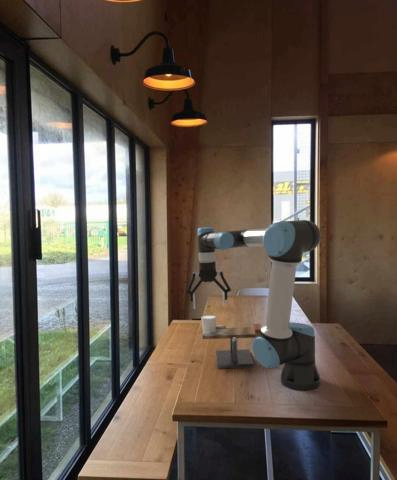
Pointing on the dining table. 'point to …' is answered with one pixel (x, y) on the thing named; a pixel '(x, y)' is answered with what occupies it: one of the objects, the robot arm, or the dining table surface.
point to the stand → (234, 357)
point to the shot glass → (208, 323)
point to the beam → (234, 332)
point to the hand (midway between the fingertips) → (209, 307)
